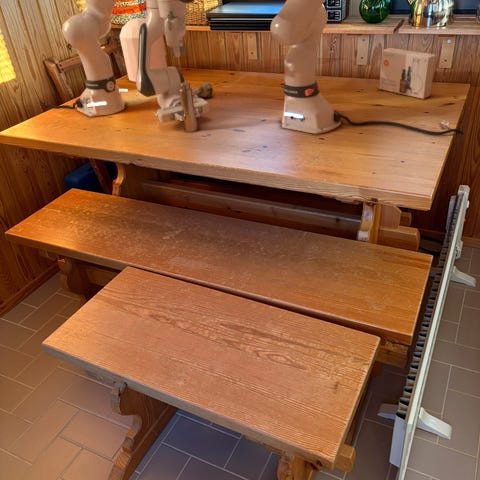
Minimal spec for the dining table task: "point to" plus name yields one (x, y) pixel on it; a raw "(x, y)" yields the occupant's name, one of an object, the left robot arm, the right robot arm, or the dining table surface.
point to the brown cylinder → (188, 106)
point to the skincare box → (407, 72)
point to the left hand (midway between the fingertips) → (190, 116)
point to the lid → (182, 50)
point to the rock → (203, 90)
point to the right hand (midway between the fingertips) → (179, 54)
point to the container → (130, 48)
